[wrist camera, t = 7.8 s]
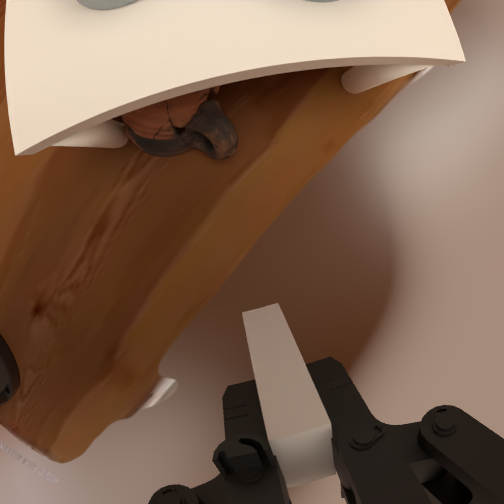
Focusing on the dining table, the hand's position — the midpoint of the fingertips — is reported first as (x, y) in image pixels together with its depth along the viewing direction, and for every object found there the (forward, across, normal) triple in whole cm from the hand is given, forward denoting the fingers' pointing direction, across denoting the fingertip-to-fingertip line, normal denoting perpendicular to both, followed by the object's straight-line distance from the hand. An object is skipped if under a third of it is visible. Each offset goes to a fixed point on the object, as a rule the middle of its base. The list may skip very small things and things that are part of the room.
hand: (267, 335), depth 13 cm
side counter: (+16, +3, +18) cm, 24 cm away
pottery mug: (+17, -2, +12) cm, 21 cm away
